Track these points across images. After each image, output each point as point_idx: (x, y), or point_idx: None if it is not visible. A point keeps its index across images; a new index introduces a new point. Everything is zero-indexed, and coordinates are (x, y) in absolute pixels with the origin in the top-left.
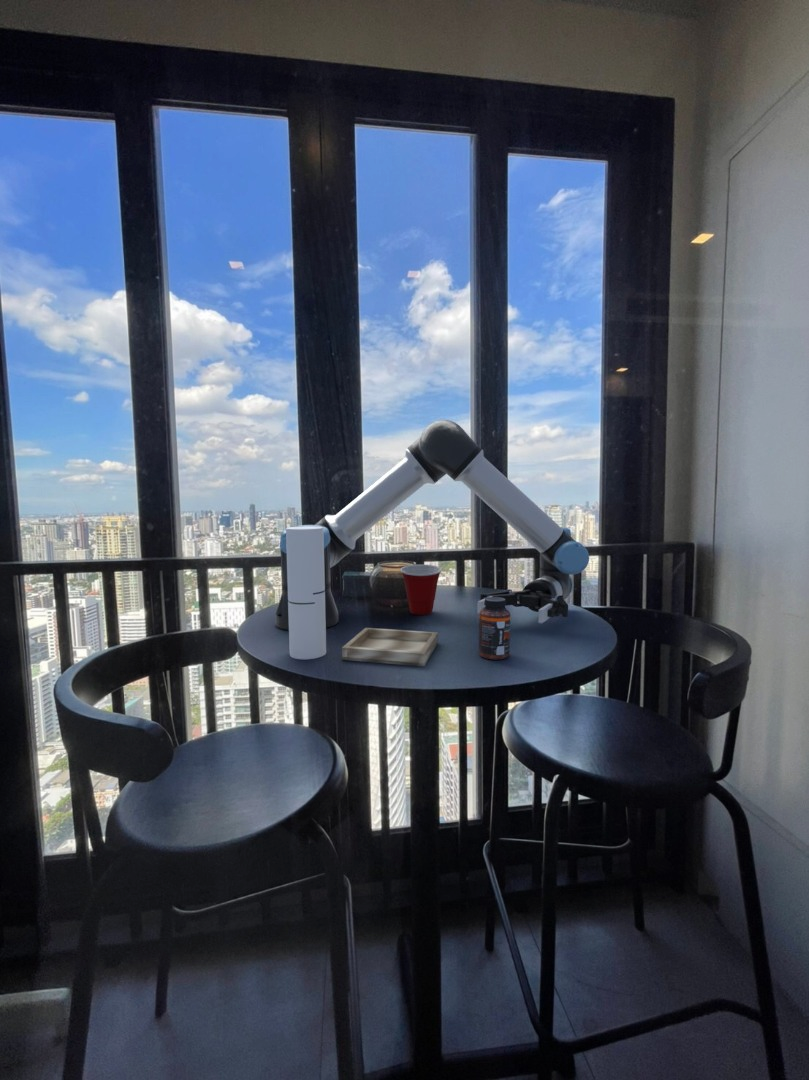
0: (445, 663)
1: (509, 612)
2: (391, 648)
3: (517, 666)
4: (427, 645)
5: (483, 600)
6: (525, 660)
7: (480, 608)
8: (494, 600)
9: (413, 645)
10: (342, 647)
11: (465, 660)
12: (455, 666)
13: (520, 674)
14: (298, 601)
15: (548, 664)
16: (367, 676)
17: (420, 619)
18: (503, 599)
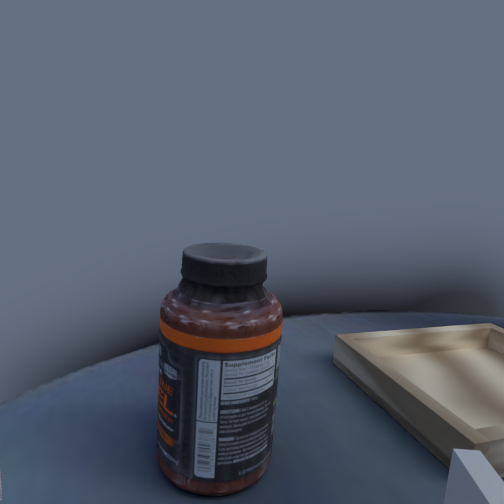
0: (307, 383)
1: (164, 302)
2: (480, 387)
3: (120, 418)
4: (376, 362)
5: (484, 491)
6: (94, 461)
7: (446, 494)
8: (216, 243)
9: (469, 416)
10: (489, 323)
11: (276, 407)
12: None
13: (108, 386)
14: None
15: (7, 458)
16: (374, 325)
17: None
18: (189, 248)
